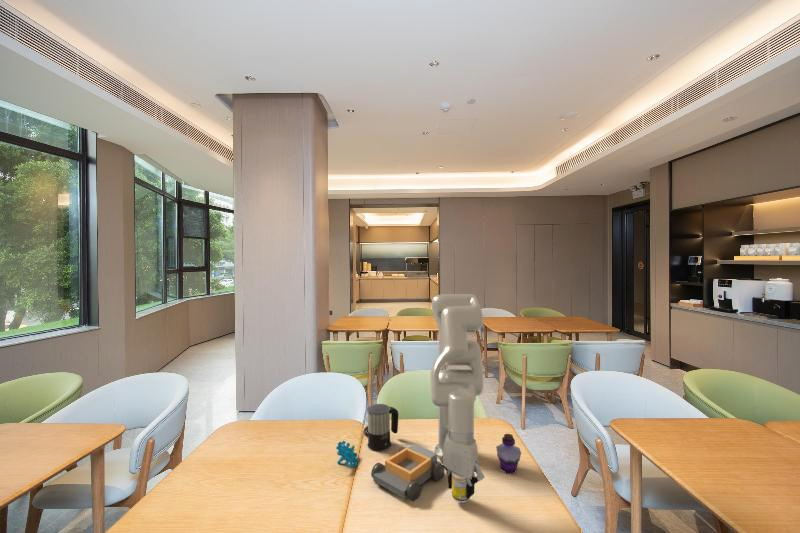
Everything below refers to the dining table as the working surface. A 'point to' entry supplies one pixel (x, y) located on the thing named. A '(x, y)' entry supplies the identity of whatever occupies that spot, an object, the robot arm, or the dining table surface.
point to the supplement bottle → (459, 487)
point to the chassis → (408, 471)
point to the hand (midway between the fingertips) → (460, 490)
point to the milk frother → (380, 426)
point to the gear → (347, 454)
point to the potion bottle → (508, 454)
